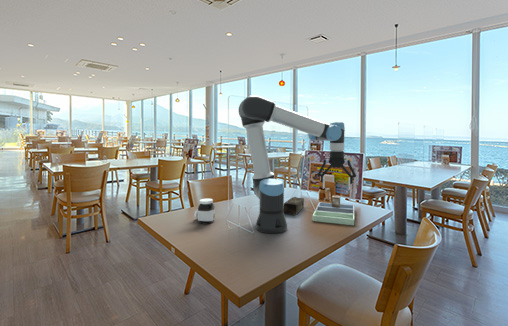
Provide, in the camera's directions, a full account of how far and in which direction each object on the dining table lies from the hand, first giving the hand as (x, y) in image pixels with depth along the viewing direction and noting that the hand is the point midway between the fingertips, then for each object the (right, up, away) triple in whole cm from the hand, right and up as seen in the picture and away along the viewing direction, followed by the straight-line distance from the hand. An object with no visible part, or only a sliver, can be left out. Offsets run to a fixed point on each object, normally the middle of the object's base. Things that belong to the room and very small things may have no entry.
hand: (336, 189), depth 149 cm
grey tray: (+3, -14, +12) cm, 19 cm away
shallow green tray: (0, -15, +3) cm, 15 cm away
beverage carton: (-21, -15, +13) cm, 29 cm away
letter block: (+3, -14, +12) cm, 19 cm away
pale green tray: (-4, -16, -7) cm, 18 cm away
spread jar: (-72, -17, -6) cm, 74 cm away
